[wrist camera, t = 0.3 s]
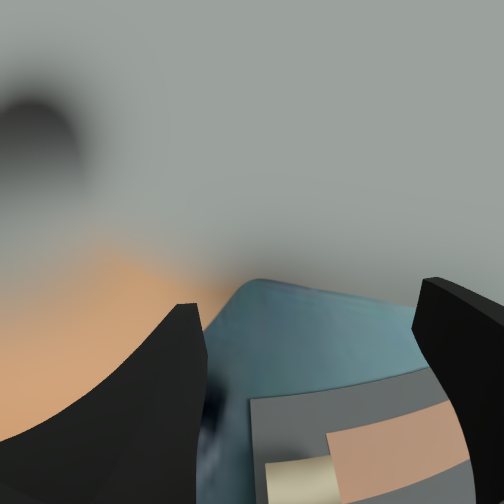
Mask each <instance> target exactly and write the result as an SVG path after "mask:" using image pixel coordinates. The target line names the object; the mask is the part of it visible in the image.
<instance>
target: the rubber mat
mask: <svg viewBox="0 0 504 504" xmlns="http://www.w3.org/2000/svg"><path fill="white" fill-rule="evenodd" d="M250 406H251V424H252V441H253V458H254V475H255V491H256V504H269V502H268V490H267V479H266V467H265V464H266V463H277V462H286V461H294V460H302V459H309V458H315V457H321V456H327V455H331V456H332V460H333V465H334V469H335V474H336V479H337V483H338V488H339V493H340V497H341V502H342V504H476V496H475V486H474V477H473V471H472V466H471V461H470V456H469V452H468V448H467V445H466V442H465V438H464V435H463V432H462V429H461V426H460V423H459V421H458V418H457V416H456V413H455V410H454V408H453V406H452V404H451V402H450V400H449V398H448V397H447V395H446V393H445V391H444V390H443V388H442V386H441V384H440V383H439V381H438V379H437V378H436V376H435V374H434V373H433V371H432V369H431V368H426V369H423V370H419V371H416V372H412V373H408V374H404V375H400V376H396V377H392V378H388V379H384V380H379V381H375V382H370V383H366V384H361V385H356V386H350V387H345V388H339V389H333V390H327V391H321V392H314V393H307V394H300V395H291V396H283V397H273V398H262V399H250ZM500 504H504V501H503V502H501V503H500Z"/></svg>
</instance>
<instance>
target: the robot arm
mask: <svg viewBox="0 0 504 504" xmlns="http://www.w3.org/2000/svg"><path fill="white" fill-rule="evenodd" d="M411 329H412V332H413V334H414V336H415V339H416V341H417V344H418V346H419V348H420V350H421V352H422V354H423V356H424V358H425V359H426V361H427V363H428V364H429V366H430V368H431V369H432V371H433V373H434V374H435V376H436V378H437V379H438V381H439V383H440V384H441V386H442V388H443V390H444V391H445V393H446V395H447V397H448V398H449V400H450V402H451V404H452V406H453V408H454V410H455V413H456V416H457V418H458V421H459V423H460V426H461V429H462V432H463V435H464V438H465V442H466V445H467V448H468V452H469V456H470V461H471V466H472V471H473V477H474V486H475V496H476V504H500V503H501V502H503V501H504V306H502V305H500V304H498V303H496V302H494V301H492V300H489V299H487V298H485V297H483V296H481V295H479V294H477V293H475V292H473V291H471V290H468V289H466V288H464V287H462V286H460V285H457V284H455V283H453V282H450V281H448V280H445V279H443V278H439V277H433V278H426V279H423V281H422V286H421V290H420V295H419V300H418V304H417V308H416V312H415V316H414V320H413V324H412V328H411ZM207 360H208V354H207V349H206V345H205V340H204V336H203V331H202V326H201V322H200V317H199V312H198V307H197V303H189V304H177V305H176V306H175V307H174V308H173V309H172V310H171V311H170V312H169V313H168V315H167V316H166V317H165V318H164V319H163V320H162V322H161V323H160V324H159V325H158V326H157V327H156V328H155V329H154V331H153V332H152V333H151V334H150V335H149V336H148V337H147V338H146V339H145V341H144V342H143V343H142V344H141V345H140V346H139V347H138V348H137V349H136V350H135V351H134V352H133V353H132V354H131V355H130V356H129V357H128V358H127V359H126V360H125V361H124V362H123V363H122V364H121V365H120V366H119V367H118V368H117V369H116V370H115V371H114V372H113V373H111V374H110V375H109V376H108V377H107V378H106V379H105V380H103V381H102V382H101V383H100V384H98V385H97V386H96V387H95V388H93V389H92V390H91V391H90V392H88V393H87V394H86V395H84V396H83V397H81V398H80V399H78V400H77V401H76V402H74V403H73V404H71V405H70V406H68V407H67V408H65V409H64V410H62V411H61V412H59V413H58V414H56V415H55V416H53V417H51V418H49V419H48V420H46V421H44V422H43V423H41V424H38V425H37V426H35V427H33V428H31V429H29V430H27V431H25V432H23V433H20V434H18V435H16V436H14V437H11V438H8V439H6V440H4V441H1V442H0V504H196V455H197V445H198V437H199V431H200V424H201V418H202V411H203V405H204V398H205V392H206V385H207Z"/></svg>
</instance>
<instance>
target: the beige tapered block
mask: <svg viewBox="0 0 504 504" xmlns="http://www.w3.org/2000/svg"><path fill="white" fill-rule="evenodd" d="M265 467H266V479H267V490H268V502H269V504H342V502H341V497H340V493H339V488H338V483H337V479H336V474H335V469H334V465H333V460H332V456H331V455H327V456H321V457H315V458H309V459H302V460H294V461H286V462H277V463H266V464H265Z"/></svg>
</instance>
